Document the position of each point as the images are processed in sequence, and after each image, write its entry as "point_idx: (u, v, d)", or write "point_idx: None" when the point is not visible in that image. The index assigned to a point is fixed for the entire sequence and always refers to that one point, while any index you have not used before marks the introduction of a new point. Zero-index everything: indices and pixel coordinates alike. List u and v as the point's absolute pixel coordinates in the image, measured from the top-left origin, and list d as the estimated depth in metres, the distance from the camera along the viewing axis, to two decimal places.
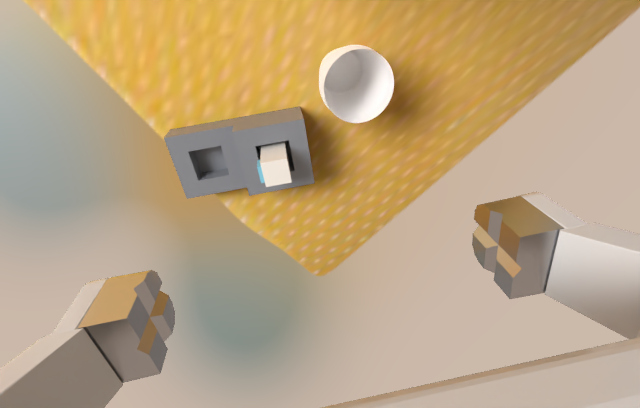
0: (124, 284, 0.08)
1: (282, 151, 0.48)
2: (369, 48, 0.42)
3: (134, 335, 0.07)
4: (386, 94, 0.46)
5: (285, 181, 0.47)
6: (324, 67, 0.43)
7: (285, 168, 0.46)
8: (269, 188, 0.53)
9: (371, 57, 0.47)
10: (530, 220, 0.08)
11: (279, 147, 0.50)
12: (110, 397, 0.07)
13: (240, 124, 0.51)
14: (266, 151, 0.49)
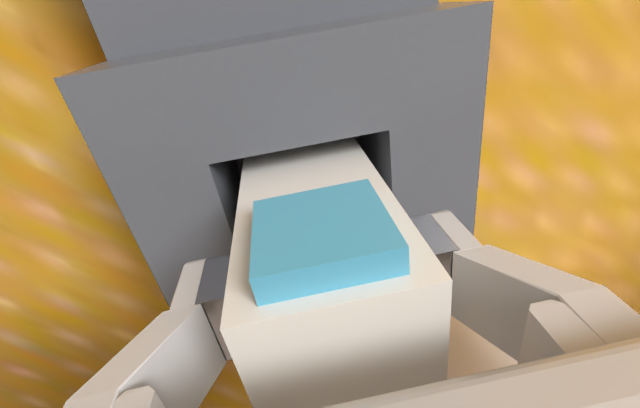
0: (226, 263, 0.08)
1: None
2: None
3: None
4: None
5: None
6: None
7: None
8: (137, 199, 0.09)
9: None
10: (429, 241, 0.07)
11: None
12: (217, 374, 0.07)
13: None
14: None
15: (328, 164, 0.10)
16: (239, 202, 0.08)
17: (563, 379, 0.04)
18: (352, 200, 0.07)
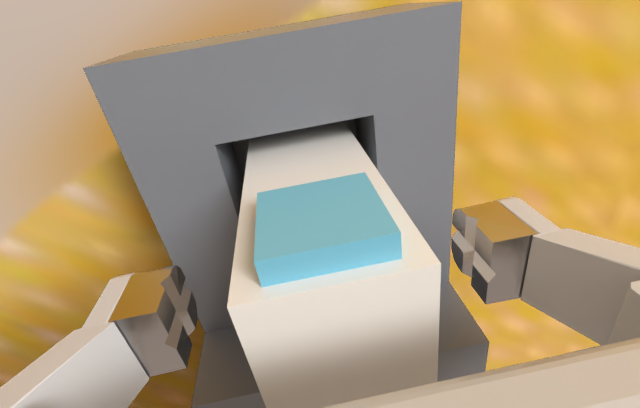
0: (150, 279, 0.08)
1: None
2: None
3: (163, 329, 0.07)
4: None
5: (280, 401, 0.07)
6: None
7: (370, 393, 0.07)
8: None
9: None
10: (505, 225, 0.08)
11: None
12: (138, 391, 0.07)
13: None
14: None
15: (327, 159, 0.10)
16: (243, 195, 0.09)
17: (563, 379, 0.04)
18: (350, 191, 0.07)
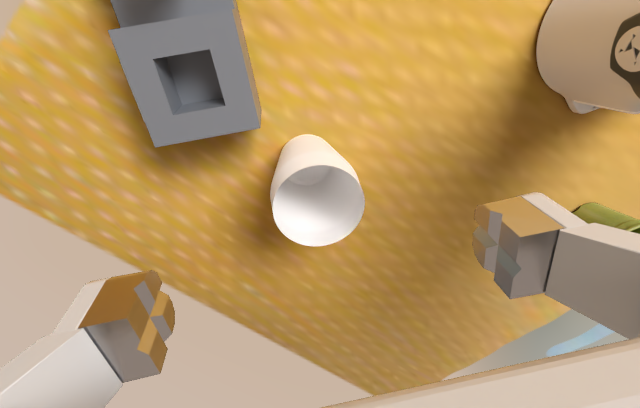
0: (124, 284, 0.08)
1: None
2: (357, 208, 0.36)
3: (134, 335, 0.07)
4: (302, 232, 0.37)
5: None
6: (337, 158, 0.33)
7: None
8: (130, 70, 0.30)
9: (334, 201, 0.40)
10: (530, 220, 0.08)
11: None
12: (110, 397, 0.07)
13: (237, 21, 0.32)
14: None
15: None
16: None
17: (563, 379, 0.04)
18: None
